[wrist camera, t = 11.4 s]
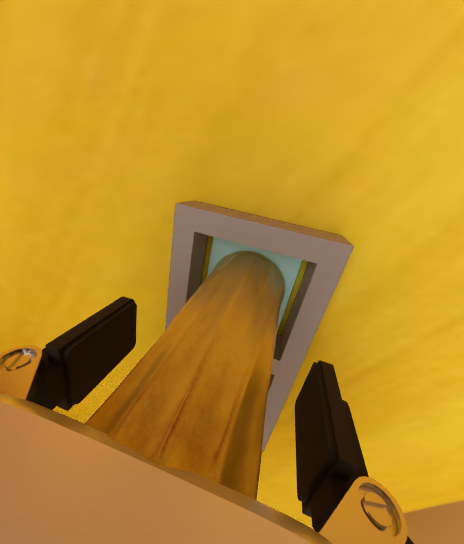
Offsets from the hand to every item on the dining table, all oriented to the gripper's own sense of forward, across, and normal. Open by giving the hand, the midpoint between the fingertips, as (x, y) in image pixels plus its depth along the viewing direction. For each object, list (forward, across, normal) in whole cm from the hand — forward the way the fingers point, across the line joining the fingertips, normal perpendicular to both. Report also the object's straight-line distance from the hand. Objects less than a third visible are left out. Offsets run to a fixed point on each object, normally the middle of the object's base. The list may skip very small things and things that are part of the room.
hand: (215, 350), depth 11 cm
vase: (+8, 0, 0) cm, 8 cm away
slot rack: (+8, 0, +4) cm, 9 cm away
